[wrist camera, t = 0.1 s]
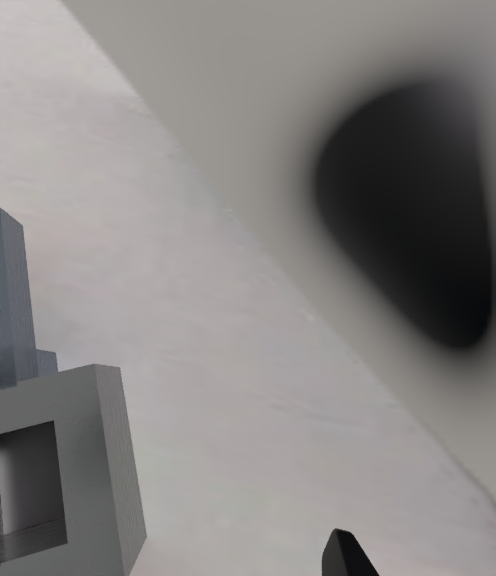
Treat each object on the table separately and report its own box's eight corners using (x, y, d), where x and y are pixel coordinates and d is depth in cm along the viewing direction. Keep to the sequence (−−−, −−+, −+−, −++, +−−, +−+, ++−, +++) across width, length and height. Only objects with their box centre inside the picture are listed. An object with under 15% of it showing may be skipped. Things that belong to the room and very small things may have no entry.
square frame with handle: (146, 536, 21) (125, 582, 16) (-37, 593, 20) (-120, 661, 15) (97, 230, 26) (70, 195, 21) (-55, 259, 24) (-122, 228, 19)
